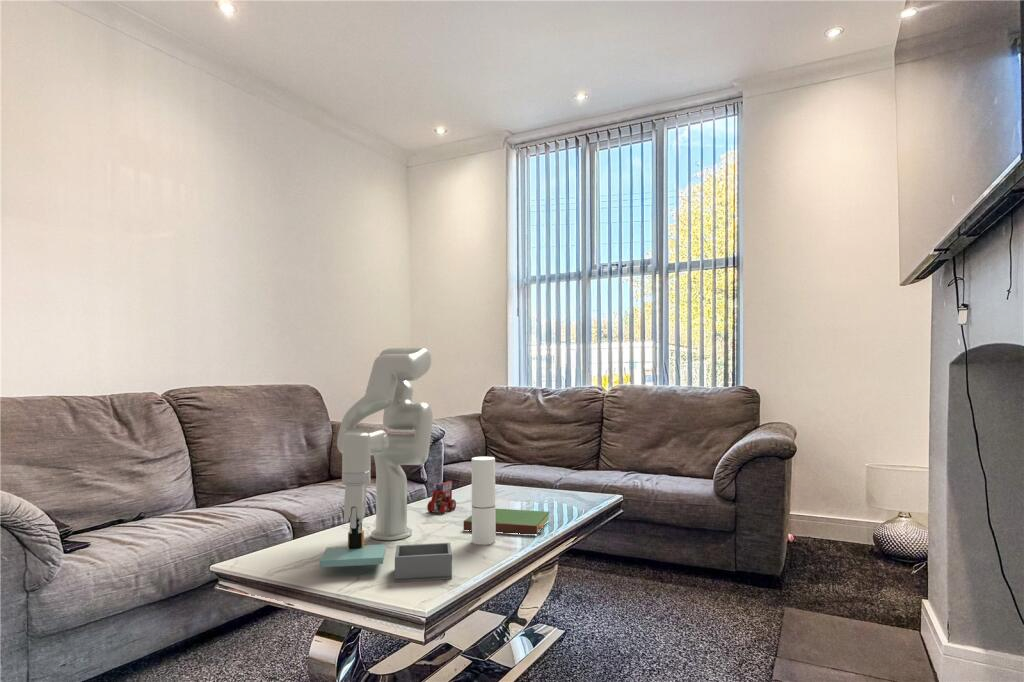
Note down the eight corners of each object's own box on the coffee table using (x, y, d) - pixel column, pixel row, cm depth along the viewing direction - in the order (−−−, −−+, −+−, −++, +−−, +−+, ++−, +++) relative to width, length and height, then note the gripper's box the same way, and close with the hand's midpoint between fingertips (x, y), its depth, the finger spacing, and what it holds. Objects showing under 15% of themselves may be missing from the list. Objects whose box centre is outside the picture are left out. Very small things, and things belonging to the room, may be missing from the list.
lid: (326, 553, 158) (326, 532, 158) (385, 550, 160) (385, 529, 160) (319, 567, 146) (319, 544, 147) (382, 563, 149) (383, 541, 149)
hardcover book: (463, 532, 189) (463, 521, 189) (482, 518, 207) (482, 507, 207) (539, 538, 182) (539, 526, 182) (551, 523, 200) (551, 511, 200)
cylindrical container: (495, 538, 181) (495, 456, 182) (495, 544, 174) (495, 459, 175) (472, 538, 180) (471, 456, 182) (471, 545, 173) (471, 460, 175)
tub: (396, 568, 154) (396, 545, 154) (450, 565, 156) (450, 542, 156) (394, 582, 144) (394, 557, 144) (452, 578, 146) (451, 554, 146)
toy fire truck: (423, 514, 212) (423, 485, 212) (443, 506, 223) (443, 479, 223) (439, 516, 209) (439, 486, 209) (458, 508, 220) (458, 480, 220)
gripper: (345, 473, 166) (345, 539, 165) (337, 483, 151) (337, 556, 149) (373, 472, 167) (372, 538, 166) (367, 482, 152) (367, 555, 151)
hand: (355, 546), depth 158 cm, fingers closed on lid
